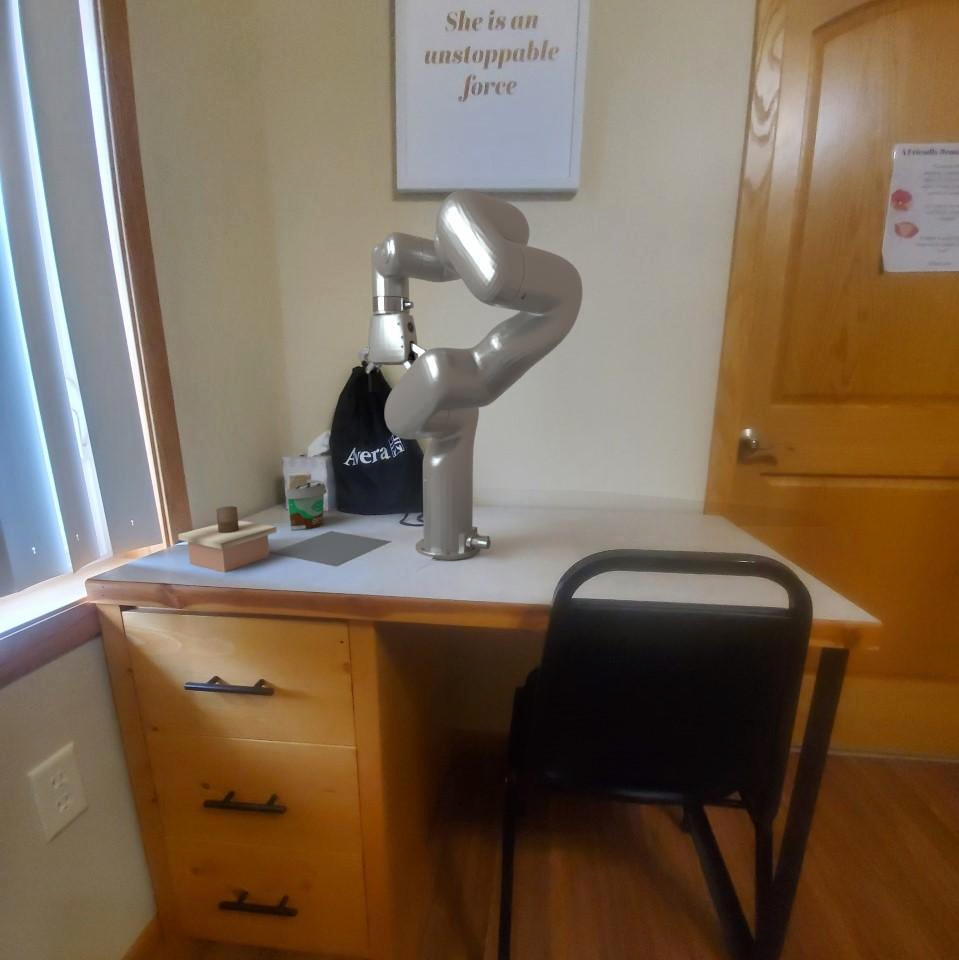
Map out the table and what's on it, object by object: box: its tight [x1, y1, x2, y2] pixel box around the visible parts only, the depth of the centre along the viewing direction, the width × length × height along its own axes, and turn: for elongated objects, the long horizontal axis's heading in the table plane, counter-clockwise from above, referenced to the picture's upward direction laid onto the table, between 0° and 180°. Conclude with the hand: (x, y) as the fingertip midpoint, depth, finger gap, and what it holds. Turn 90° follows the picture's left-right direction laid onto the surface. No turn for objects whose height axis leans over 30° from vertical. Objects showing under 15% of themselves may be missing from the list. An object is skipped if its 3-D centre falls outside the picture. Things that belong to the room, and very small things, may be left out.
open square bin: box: [187, 535, 270, 573], centre depth 86 cm, size 9×9×5 cm
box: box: [286, 471, 312, 519], centre depth 116 cm, size 5×4×11 cm
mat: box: [269, 530, 392, 567], centre depth 94 cm, size 16×16×1 cm
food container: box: [286, 479, 328, 532], centre depth 108 cm, size 12×6×10 cm, turn 179°
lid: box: [177, 505, 277, 549], centre depth 85 cm, size 11×11×5 cm
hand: (393, 392), depth 103 cm, fingers open, 9 cm apart
